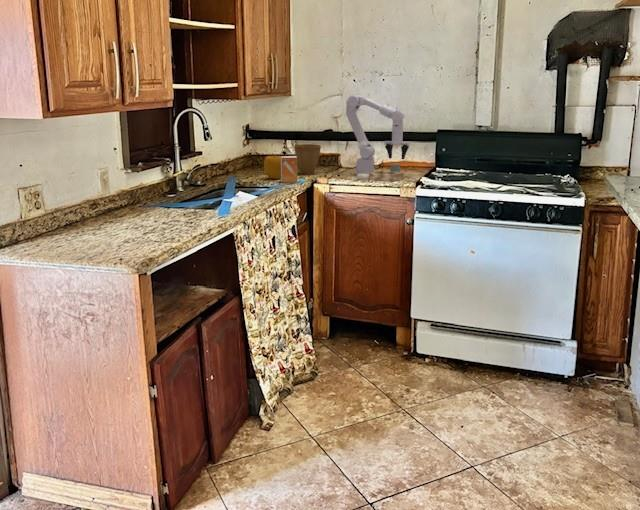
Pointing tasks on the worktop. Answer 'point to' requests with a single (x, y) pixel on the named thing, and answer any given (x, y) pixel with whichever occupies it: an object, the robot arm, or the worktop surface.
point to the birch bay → (386, 176)
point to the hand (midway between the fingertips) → (396, 158)
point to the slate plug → (395, 167)
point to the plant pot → (307, 157)
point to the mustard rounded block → (273, 166)
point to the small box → (289, 169)
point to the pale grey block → (362, 176)
